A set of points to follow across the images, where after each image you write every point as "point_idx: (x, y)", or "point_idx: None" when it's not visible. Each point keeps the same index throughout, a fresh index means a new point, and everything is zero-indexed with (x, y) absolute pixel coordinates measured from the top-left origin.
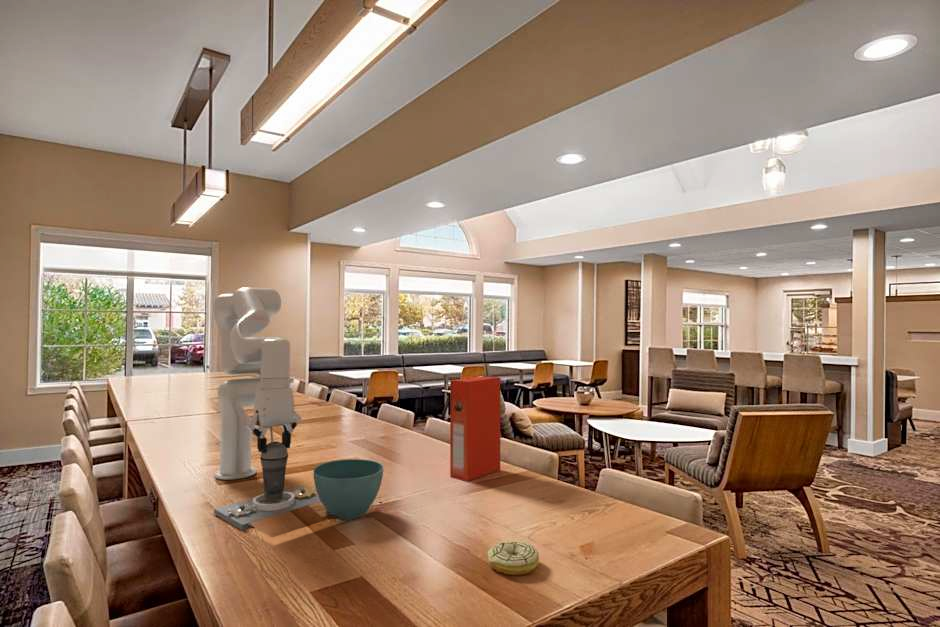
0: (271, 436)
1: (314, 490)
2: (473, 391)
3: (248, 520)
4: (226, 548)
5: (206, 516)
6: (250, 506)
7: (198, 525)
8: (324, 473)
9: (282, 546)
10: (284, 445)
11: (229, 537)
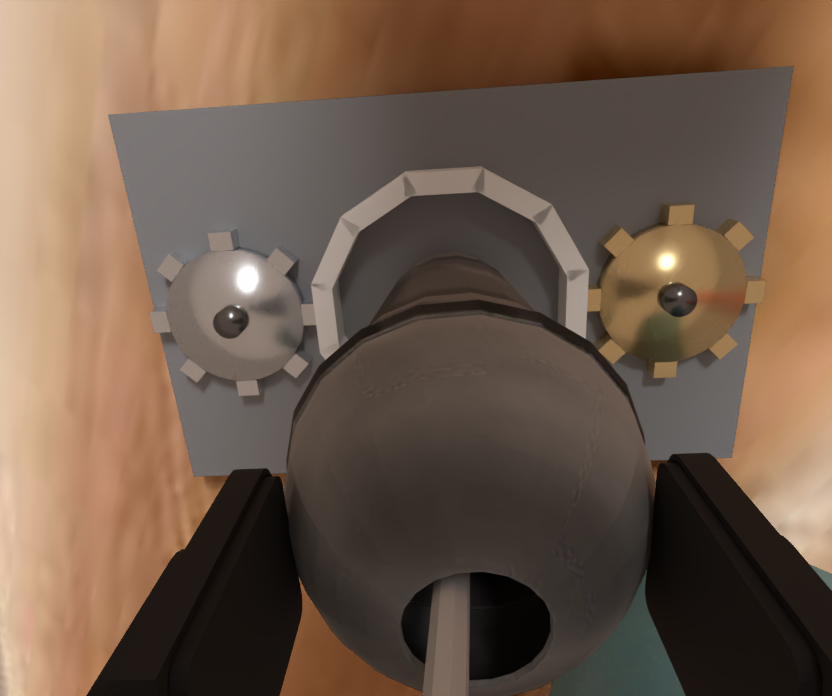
0: None
1: (761, 302)
2: None
3: (234, 448)
4: (109, 571)
5: (83, 116)
6: (292, 306)
7: (27, 237)
8: None
9: (290, 678)
10: (664, 546)
11: (140, 486)
